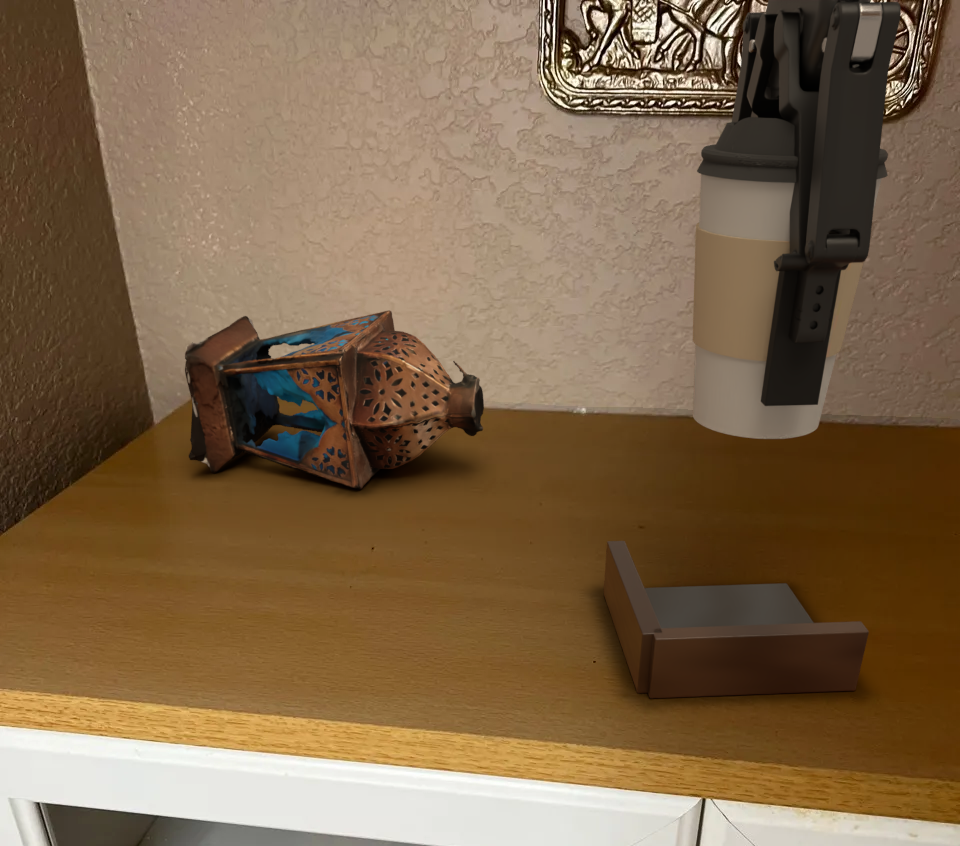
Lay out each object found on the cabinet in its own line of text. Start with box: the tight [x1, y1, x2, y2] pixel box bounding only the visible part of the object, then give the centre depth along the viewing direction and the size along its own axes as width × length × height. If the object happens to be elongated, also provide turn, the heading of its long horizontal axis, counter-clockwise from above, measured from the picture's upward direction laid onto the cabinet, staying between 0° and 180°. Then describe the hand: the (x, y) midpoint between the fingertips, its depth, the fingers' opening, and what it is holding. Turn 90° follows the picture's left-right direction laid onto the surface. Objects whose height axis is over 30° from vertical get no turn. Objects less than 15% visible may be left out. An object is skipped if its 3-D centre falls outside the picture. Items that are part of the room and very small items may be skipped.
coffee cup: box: [692, 117, 889, 440], centre depth 51 cm, size 9×9×15 cm
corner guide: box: [603, 540, 870, 699], centre depth 60 cm, size 13×13×4 cm
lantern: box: [184, 310, 485, 490], centre depth 85 cm, size 16×16×25 cm
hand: (761, 376), depth 54 cm, fingers closed on coffee cup, 9 cm apart
